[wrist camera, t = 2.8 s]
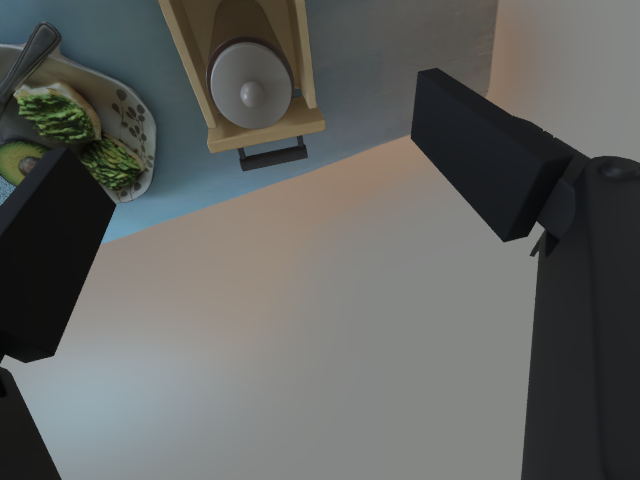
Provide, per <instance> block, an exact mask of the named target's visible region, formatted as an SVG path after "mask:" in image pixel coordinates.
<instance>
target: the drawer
mask: <svg viewBox="0 0 640 480" xmlns="http://www.w3.org/2000/svg"><path fill="white" fill-rule="evenodd" d="M221 1H222V0H158V2H159V4H160V7H161V9H162V12H163V15H164V17H165V20H166V22H167V25H168V27H169V30H170V32H171V35H172V37H173V40H174V42H175V45H176V47H177V50H178V52H179V55H180V57H181V60H182V62H183V65H184V67H185V70H186V72H187V75H188V77H189V80H190V82H191V85H192V87H193V90H194V92H195V95H196V97H197V100H198V102H199V105H200V107H201V110H202V113H203V115H204V118H205V120H206V123H207V125H208V128H209V131H208V142H207V145H208V147H209V149H210V152H211V154H213V153H218V152H222V151H227V150H232V149H238V152H239V155H240V159H239V160H240V165H241V168H242V170H243V171H248V170H252V169H257V168H262V167H267V166H271V165H276V164H281V163H285V162H290V161H295V160H300V159H304V158H308V155H307V150H306V146H305V145H304V143H303V137H302V135H305V134H310V133H314V132H319V131H324V130H326V124H325V119H324V117H323V115H322V113H321V111H320V109H319V107H318V106H317V104H316V96H315V87H314V78H313V69H312V61H311V52H310V43H309V34H308V25H307V16H306V7H305V0H255V1H256V2H257V3H258V4H259V5H260V6H261V7H262V9H263V10H264V12H265V14H266V16H267V18H268V20H269V22H270V24H271V27H272V29H273V31H274V33H275V35H276V37H277V39H278V41H279V43H280V45H281V48H282V50H283V52H284V54H285V56H286V58H287V60H288V62H289V64H290V66H291V69H292V72H293V77H294V89H298V88H300V90H301V92H302V94H303V96H301V97H296V98H293V99H292V102H291V104H290V106H289V108H288V110H287V111H286V113H285V114H284V115H283V116H282V117H281V118H280V119H279V120H278V121H277V122H276V123H274V124H272V125H271V126H268V127H265V128H261V129H248V128H244V127H241V126H238V125H236V124H234V123H233V122H231V121H230V120H228V119H227V118H225V117H224V116H223V115H222V114H221V113H218V110H217V108H216V107H215V106H214V104H213V102H212V100H211V98H210V96H209V93H208V90H207V85H206V68H207V62H208V56H209V49H210V43H211V37H212V30H213V24H214V18H215V13H216V10H217V7H218V5H219V4H220V3H221ZM295 136H297V140H298V145H299V146H295V147H290V148H285V149H280V150H275V151H271V152H266V153H261V154H256V155H251V156H247V157H246V155H245V152H244V149H243V147H247V146H251V145H256V144H261V143H266V142H271V141H276V140H280V139H285V138H290V137H295Z"/></svg>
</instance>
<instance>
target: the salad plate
mask: <svg viewBox="0 0 640 480" xmlns="http://www.w3.org/2000/svg"><path fill="white" fill-rule="evenodd" d="M61 43H62V37H61V34H60V33H59V32H58V30H57V29H56V28H55V27H53V26H52V25H51V24H50V23H48V22H40V23H39V24H38V25H37V26H36V27H35V28H34V30H33V32H32V33H31V35H30V37H29V39H28V41H27V42H26V43H25V44H0V175H1V176H2V177H3V178H4V179H5V180H6V181H7V182H9V183H11V184H12V185H14V186H16V187H17V186H18V185H19V184H20V182H21V181H22V180H23V179H24V178H25V176H26V175H27V174H28V173H29V172H30V170H31V169H32V168H33V167H34V166H35V165H36V163H37V162H38V161H39V160H40V159H41V157H42V156H43V155H44V154H45V153H46V151H50V150H54V149H59V148H64V147H68V146H69V147H70V149H71V150H72V151H73V152H74V154H75V155H76V156H77V157H78V158H79V160H80V161H81V162H82V163H83V165H84V166H85V167H86V168H87V169H88V171H89V172H90V173H91V174H92V176H93V177H94V178H95V179H96V180H97V182H98V183H99V184H100V185H101V187H102V188H103V189H104V190H105V191H106V193H107V194H108V195H109V196H110V198H111V199H112V200H113V201H114V202H115V203H125V202H129V201H133V200H134V199H136V198H138V197H140V196H141V195H143V194H144V193H145V192H146V191H147V190H148V189H149V187H150V185H151V183H152V180H153V176H154V161H155V150H156V123H155V121H154V118H153V116H152V114H151V112H150V109H149V107H148V106H147V105H146V104H145V102H144V101H143V100H142V99H141V98H140V97H139V95H138V94H137V93H136V92H135V90H134V89H133V88H132V87H130V86H128V85H127V84H125V83H123V82H121V81H119V80H117V79H115V78H113V77H111V76H109V75H106V74H104V73H102V72H100V71H97V70H95V69H93V68H90V67H87V66H84V65H81V64H79V63H77V62H75V61H73V60H71V59H68V58H67V57H65V56H64V55H62V53H61V52H60V45H61Z"/></svg>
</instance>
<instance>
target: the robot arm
mask: <svg viewBox="0 0 640 480" xmlns="http://www.w3.org/2000/svg"><path fill="white" fill-rule="evenodd" d="M411 139H412V140H413V141H414V142H415V144H416V145H417V146H418V147H419V148H420V149H421V150H422V152H423V153H424V154H425V155H426V156H427V157H428V158H429V159H430V160H431V162H432V163H433V164H434V165H435V166H436V167H437V168H438V169H439V171H440V172H441V173H442V174H443V175H444V176H445V177H446V178H447V180H448V181H449V182H450V183H451V184H452V185H453V186H454V187H455V188H456V190H457V191H458V192H459V193H460V194H461V195H462V196H463V197H464V198H465V200H466V201H467V202H468V203H469V204H470V205H471V206H472V207H473V208H474V210H475V211H476V212H477V213H478V214H479V215H480V216H481V218H482V219H483V220H484V221H485V222H486V223H487V224H488V225H489V226H490V227H491V229H492V230H493V231H494V232H495V233H496V234H497V235H498V237H500V239H501V240H502V241H503V242H507V241H511V240H515V239H519V238H523V237H527V236H528V235H529V233H530V231H531V230H532V228H533V226H534V225H535V223H536V221H537V222H538V223H539V224H540V225H541V226H543V227H544V228H545V230H544V232H543V234H542V235H541V237H540V238H539V240H538V242H537V243H536V245H535V247H534V248H533V250H532V252H531V254H530V256H533V257H534V256H535V254H536V253H537V252H538V251H539V260H538V272H537V284H536V297H535V310H534V322H533V335H532V348H531V361H530V374H529V386H528V399H527V411H526V424H525V436H524V449H523V462H522V475H521V480H640V163H639V162H636V161H633V160H631V159H626V158H621V157H616V156H615V157H614V156H601V157H594V158H592V159H590V158H589V157H587V156H585V155H584V154H582V153H580V152H579V151H577V150H576V149H574V148H572V147H571V146H569V145H568V144H566V143H564V142H562V141H561V140H559V139H558V138H556V137H555V138H553V135H551V134H550V133H548V132H546V131H543V129H542V128H540V127H538V126H537V125H535V124H533V123H532V122H530V121H527V120H524V119H521V118H518V117H515V116H512V115H510V114H509V113H507V112H506V111H504V110H502V109H501V108H499V107H498V106H496V105H494V104H493V103H491V102H490V101H488V100H487V99H485V98H484V97H482V96H480V95H479V94H477V93H476V92H474V91H473V90H471V89H470V88H468V87H466V86H465V85H463V84H462V83H460V82H459V81H457V80H455V79H454V78H452V77H451V76H449V75H448V74H446V73H444V72H443V71H441V70H440V69H438V68H433V69H429V70H424V71H419V72H418V76H417V85H416V94H415V103H414V112H413V121H412V130H411ZM115 208H116V204H115V202H114V201H113V200H112V199H111V198H110V196H109V195H108V194H107V193H106V191H105V190H104V189H103V188H102V187H101V185H100V184H99V183H98V182H97V180H96V179H95V178H94V177H93V176H92V174H91V173H90V172H89V171H88V169H87V168H86V167H85V166H84V165H83V163H82V162H81V161H80V160H79V158H78V157H77V156H76V155H75V154H74V152H73V151H72V150H71V149H70V147H69V146H68V147H64V148H59V149H54V150H50V151H46V153H45V154H44V155H43V156H42V157H41V159H40V160H39V161H38V162H37V163H36V165H35V166H34V167H33V168H32V169H31V170H30V172H29V173H28V174H27V175H26V176H25V178H24V179H23V180H22V181H21V182H20V184H19V185H18V186H17V187H16V188H15V190H14V191H13V192H12V193H11V194H10V195H9V197H8V198H7V199H6V200H5V201H4V203H3V204H2V205H1V206H0V363H1V361H2V359H3V357H4V355H8V356H10V357H12V358H14V359H17V360H19V361H21V362H24V363H28V362H32V361H35V360H40V359H44V358H48V357H52V356H54V355H55V352H56V350H57V347H58V345H59V342H60V340H61V337H62V335H63V333H64V330H65V328H66V326H67V323H68V321H69V318H70V316H71V314H72V311H73V309H74V306H75V304H76V302H77V299H78V296H79V294H80V292H81V290H82V287H83V285H84V282H85V280H86V277H87V275H88V273H89V270H90V268H91V265H92V263H93V261H94V258H95V256H96V253H97V251H98V249H99V246H100V244H101V241H102V239H103V236H104V234H105V232H106V229H107V227H108V224H109V222H110V220H111V217H112V215H113V212H114V210H115ZM0 480H61V477H60V475H59V473H58V471H57V469H56V467H55V465H54V463H53V461H52V458H51V456H50V454H49V452H48V450H47V448H46V446H45V444H44V442H43V439H42V437H41V435H40V433H39V431H38V429H37V427H36V425H35V423H34V420H33V418H32V416H31V414H30V412H29V410H28V408H27V406H26V404H25V401H24V399H23V397H22V395H21V393H20V391H19V389H18V387H17V385H16V382H15V380H14V378H13V376H12V374H11V373H10V372H9V371H8V370H7V369H5V368H2V367H0Z"/></svg>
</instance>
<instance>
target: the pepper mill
mask: <svg viewBox="0 0 640 480" xmlns="http://www.w3.org/2000/svg"><path fill="white" fill-rule="evenodd" d="M206 85H207V90H208V93H209V96H210V98H211V100H212V102H213V104H214V106H215V107H216V108H217V110H218V111H219V112H220V113H221V114H222V115H223V116H224V117H225V118H227V119H228V120H230V121H231V122H233V123H234V124H236V125H238V126H241V127H244V128H248V129H261V128H265V127H268V126H271V125H272V124H274V123H276V122H277V121H278V120H279V119H280V118H281V117H282V116H283V115H284V114H285V113H286V111H287V110H288V108H289V106H290V104H291V102H292V99H293V95H294V77H293V72H292V69H291V66H290V64H289V62H288V60H287V58H286V56H285V54H284V52H283V50H282V48H281V45H280V43H279V41H278V39H277V37H276V35H275V33H274V31H273V29H272V27H271V24H270V22H269V20H268V18H267V16H266V14H265V12H264V10H263V9H262V7H261V6H260V5H259V4H258V3H257V2H256V1H255V0H222V1H221V3H220V4H219V5H218V7H217V10H216V13H215V18H214V24H213V30H212V37H211V43H210V49H209V56H208V62H207V68H206Z"/></svg>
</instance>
